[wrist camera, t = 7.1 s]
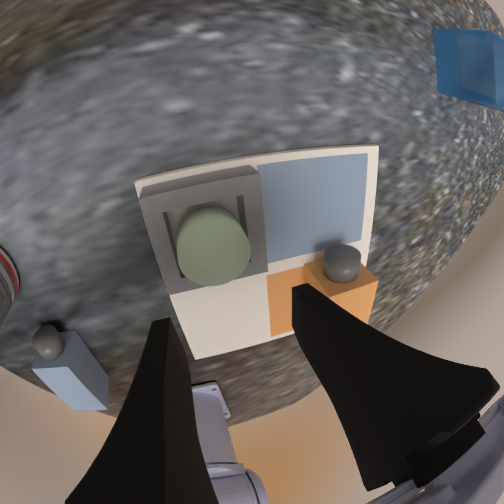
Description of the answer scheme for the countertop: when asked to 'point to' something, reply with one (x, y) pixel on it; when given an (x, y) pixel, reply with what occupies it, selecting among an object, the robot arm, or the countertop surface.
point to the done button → (212, 246)
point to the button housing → (196, 192)
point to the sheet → (278, 239)
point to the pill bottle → (7, 285)
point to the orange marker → (343, 279)
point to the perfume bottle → (470, 66)
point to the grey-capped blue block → (70, 369)
